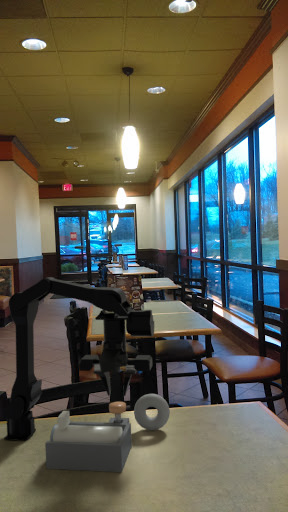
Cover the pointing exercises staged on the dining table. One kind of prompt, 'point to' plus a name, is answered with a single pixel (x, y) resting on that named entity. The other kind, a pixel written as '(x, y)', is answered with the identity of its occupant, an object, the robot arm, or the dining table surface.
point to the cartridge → (83, 432)
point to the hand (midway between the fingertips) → (117, 395)
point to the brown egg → (117, 410)
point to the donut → (148, 421)
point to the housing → (91, 451)
